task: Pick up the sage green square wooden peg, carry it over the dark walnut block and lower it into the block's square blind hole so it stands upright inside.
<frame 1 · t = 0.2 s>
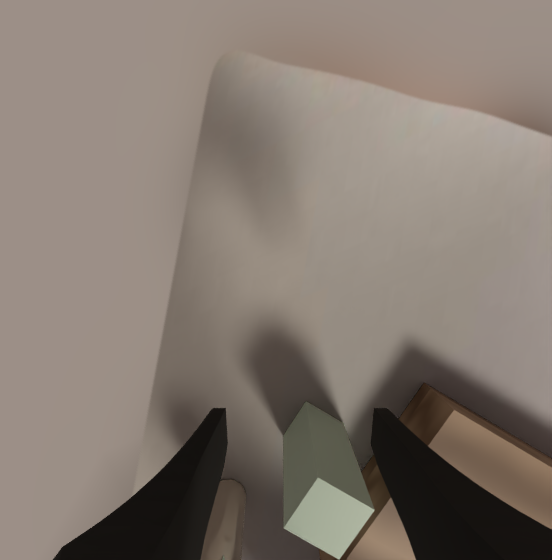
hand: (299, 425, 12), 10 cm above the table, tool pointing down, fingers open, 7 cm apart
socket block: (450, 509, 24), on the table
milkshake: (231, 495, 25), on the table
peg: (313, 429, 23), on the table
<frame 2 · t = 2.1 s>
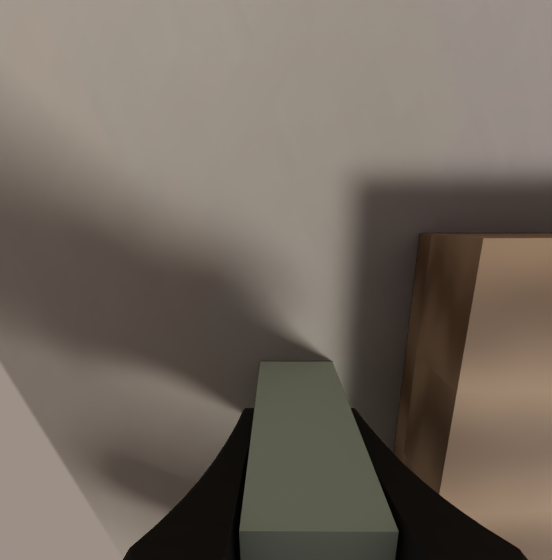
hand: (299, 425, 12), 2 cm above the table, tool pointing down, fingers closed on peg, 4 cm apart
peg: (295, 393, 15), on the table, touching gripper
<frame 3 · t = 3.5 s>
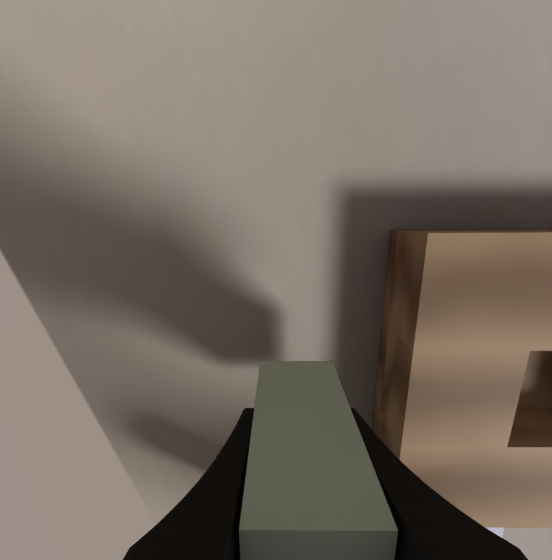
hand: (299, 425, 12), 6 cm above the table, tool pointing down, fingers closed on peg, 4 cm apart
socket block: (508, 361, 18), on the table
peg: (295, 392, 15), point 3 cm above the table, touching gripper
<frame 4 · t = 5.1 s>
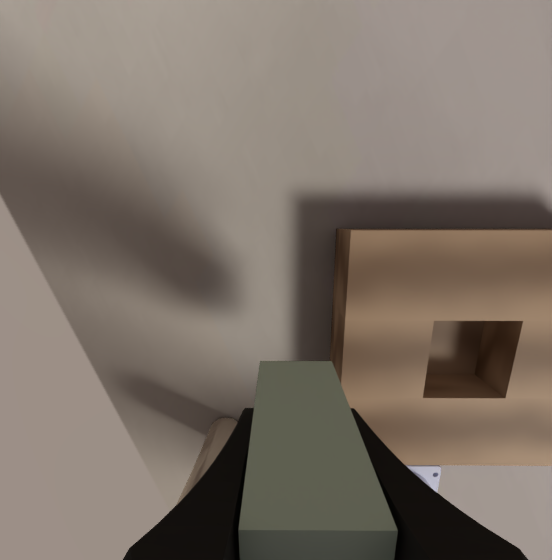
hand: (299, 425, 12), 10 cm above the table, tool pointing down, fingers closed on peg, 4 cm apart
socket block: (436, 336, 22), on the table
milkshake: (231, 431, 24), on the table
peg: (295, 392, 15), point 7 cm above the table, touching gripper
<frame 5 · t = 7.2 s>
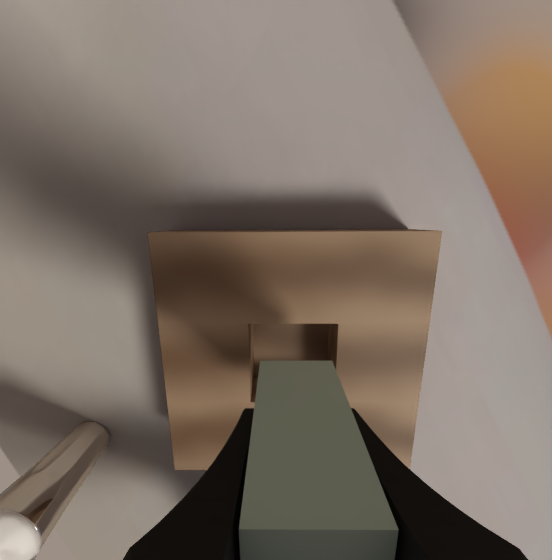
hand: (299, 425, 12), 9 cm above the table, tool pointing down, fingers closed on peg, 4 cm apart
socket block: (290, 338, 21), on the table
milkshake: (98, 436, 24), on the table
peg: (295, 392, 15), point 7 cm above the table, touching gripper
when the fingers open (5 cm above the table, at t = 8.9 s): peg drops 1 cm, resting on socket block.
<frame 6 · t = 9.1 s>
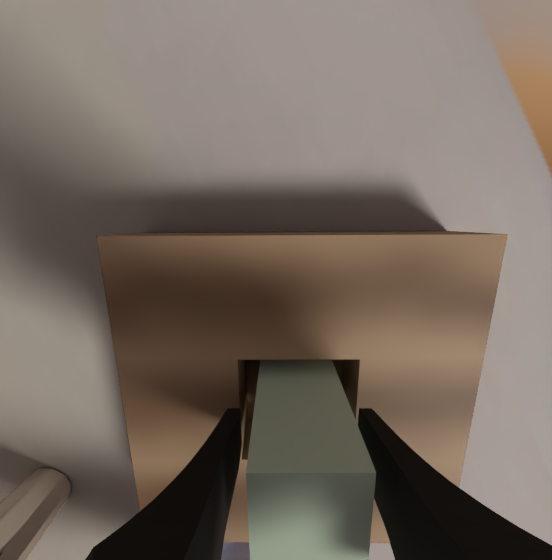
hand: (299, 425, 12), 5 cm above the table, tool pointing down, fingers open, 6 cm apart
socket block: (293, 368, 17), on the table
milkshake: (57, 484, 20), on the table
peg: (294, 376, 16), point 1 cm above the table, touching socket block
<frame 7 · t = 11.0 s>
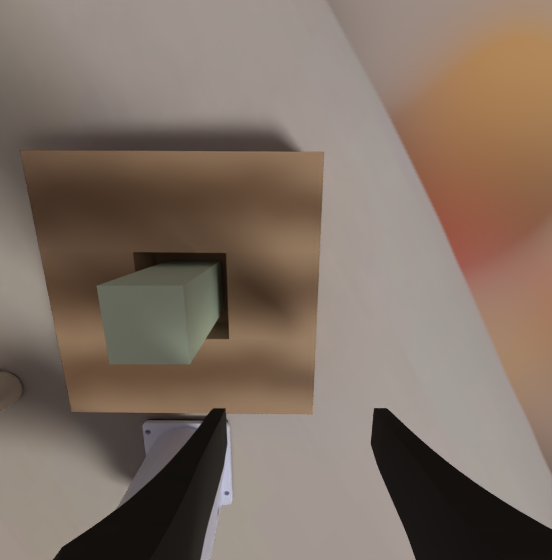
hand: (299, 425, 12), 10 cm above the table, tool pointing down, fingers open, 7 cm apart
socket block: (200, 283, 21), on the table
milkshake: (12, 387, 23), on the table
peg: (196, 285, 20), point 1 cm above the table, touching socket block
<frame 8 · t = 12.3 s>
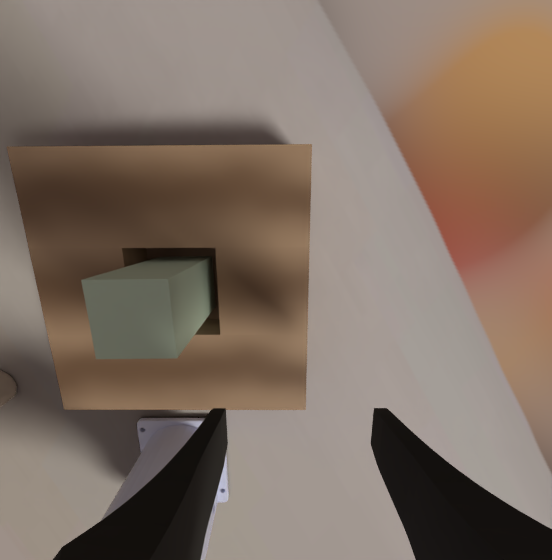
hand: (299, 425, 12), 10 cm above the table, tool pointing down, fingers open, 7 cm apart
socket block: (192, 279, 21), on the table
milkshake: (6, 386, 23), on the table
peg: (188, 281, 20), point 1 cm above the table, touching socket block
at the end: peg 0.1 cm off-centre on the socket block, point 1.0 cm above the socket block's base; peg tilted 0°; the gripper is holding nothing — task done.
